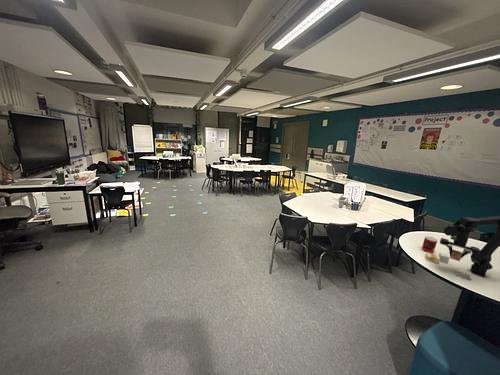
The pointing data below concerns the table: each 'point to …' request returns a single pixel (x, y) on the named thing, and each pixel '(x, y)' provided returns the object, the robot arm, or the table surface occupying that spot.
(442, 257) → the grey block
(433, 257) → the oak base
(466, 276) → the card
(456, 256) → the walnut block
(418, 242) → the table surface
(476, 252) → the robot arm
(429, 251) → the canned food
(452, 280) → the table surface
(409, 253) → the table surface
